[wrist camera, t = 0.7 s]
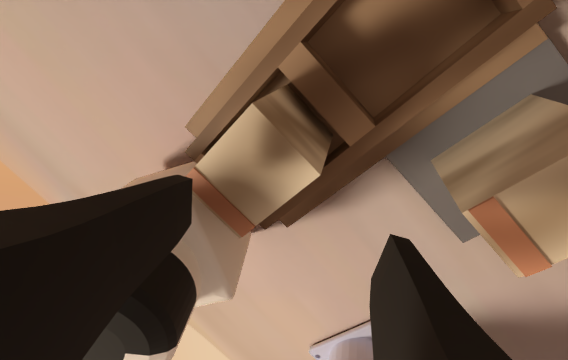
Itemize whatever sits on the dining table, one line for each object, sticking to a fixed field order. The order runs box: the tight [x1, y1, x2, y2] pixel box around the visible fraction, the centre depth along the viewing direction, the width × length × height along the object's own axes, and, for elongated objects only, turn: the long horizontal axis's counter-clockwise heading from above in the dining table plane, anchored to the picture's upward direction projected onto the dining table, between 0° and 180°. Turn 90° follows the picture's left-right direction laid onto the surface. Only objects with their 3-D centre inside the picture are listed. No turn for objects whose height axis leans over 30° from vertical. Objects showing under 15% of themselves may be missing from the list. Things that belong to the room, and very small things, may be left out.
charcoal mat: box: [386, 35, 568, 243], centre depth 16 cm, size 8×9×1 cm
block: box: [185, 85, 333, 239], centre depth 15 cm, size 4×6×6 cm
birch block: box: [431, 94, 568, 278], centre depth 13 cm, size 4×6×6 cm
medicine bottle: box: [82, 161, 251, 360], centre depth 17 cm, size 7×7×12 cm
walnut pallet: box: [185, 0, 557, 229], centre depth 16 cm, size 10×17×3 cm, turn 136°
